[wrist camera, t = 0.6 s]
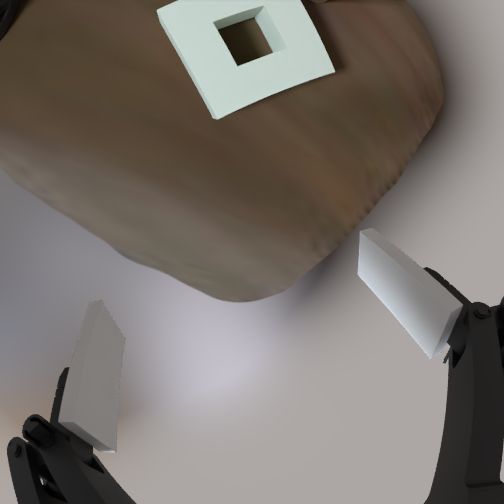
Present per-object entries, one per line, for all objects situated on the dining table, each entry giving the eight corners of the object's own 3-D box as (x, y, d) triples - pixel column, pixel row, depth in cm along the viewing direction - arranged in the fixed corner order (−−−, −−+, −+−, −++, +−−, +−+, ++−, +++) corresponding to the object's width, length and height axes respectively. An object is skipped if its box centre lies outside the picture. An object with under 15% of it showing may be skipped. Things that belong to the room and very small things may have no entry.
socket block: (160, 22, 24) (156, 10, 20) (270, -16, 24) (281, -30, 19) (213, 118, 32) (217, 119, 28) (318, 74, 32) (335, 71, 28)
